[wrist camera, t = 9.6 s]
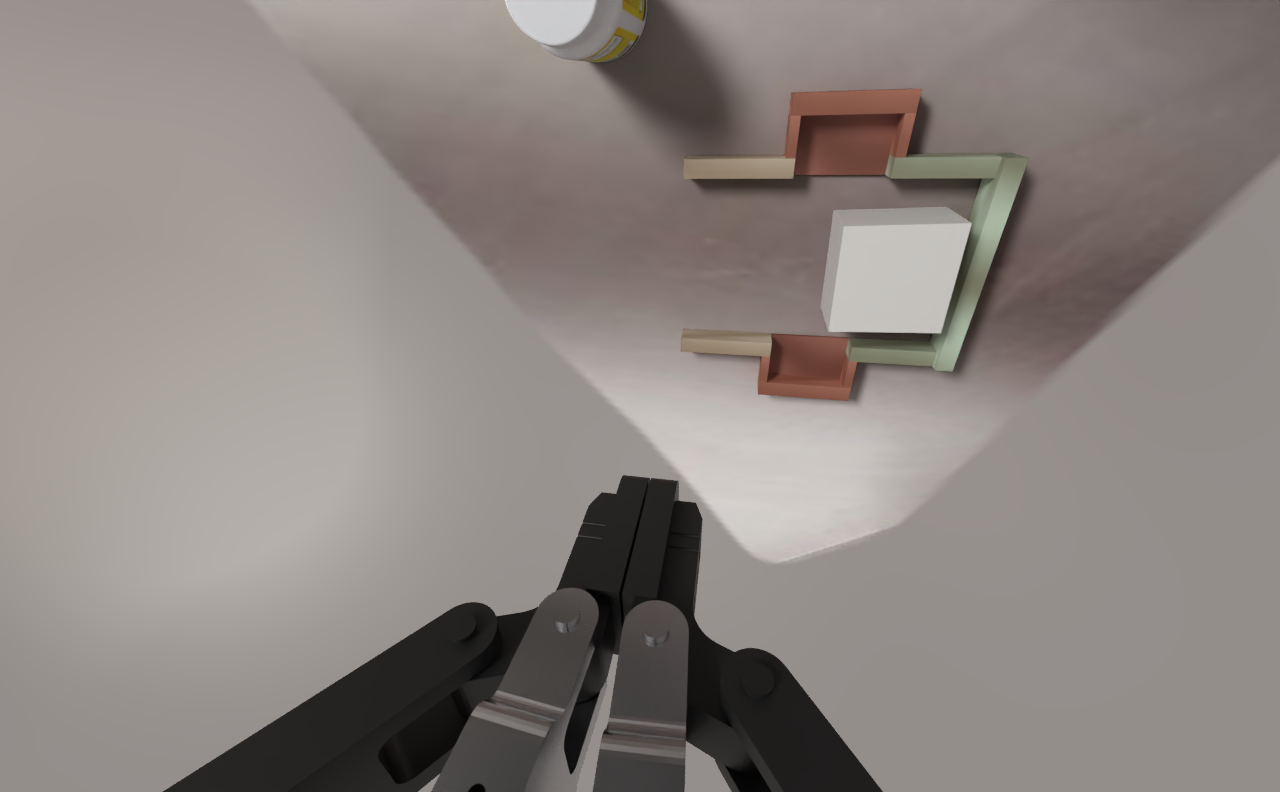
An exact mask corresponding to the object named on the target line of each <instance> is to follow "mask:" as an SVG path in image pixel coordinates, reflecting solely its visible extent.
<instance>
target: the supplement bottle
mask: <svg viewBox="0 0 1280 792" xmlns="http://www.w3.org/2000/svg"><path fill="white" fill-rule="evenodd" d="M505 3H506V6H507V8H508V10H509V13H510V14H511V16H512V18H513V20H514V21H515V23H516V24H517V25H518V27H519V28H520V29H521V30H522V31H523V32H524V33H525V34H526V35H527V36H528V37H530V38H531V39H533V40H534V41H536V42H537V43H538V44H539V45H540V46H541V47H542V48H544V49H545V50H546V51H548V52H549V53H551V54H553V55H555V56H557V57H560V58H563V59H567V60H577V61H587V62H599V63H607V62H613V61H616V60H618V59H620V58H622V57H624V56H625V55H626V54H628V53H629V52H630V51H631V50H632V49H633V48H634V46H635V45H636V43H637V42H638V40H639V38H640V36H641V34H642V32H643V29H644V25H645V21H646V15H647V0H505Z"/></svg>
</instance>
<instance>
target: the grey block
mask: <svg viewBox="0 0 1280 792" xmlns="http://www.w3.org/2000/svg"><path fill="white" fill-rule="evenodd" d="M971 225H972V223H971V222H969V221H968V220H966V219H965V218H963V217H962V216H960V215H958V214H957V213H955V212H954V211H952V210H951V209H949V208H947V207H925V208H893V209H861V210H834V211H833V219H832V226H831V234H830V241H829V249H828V256H827V264H826V271H825V279H824V286H823V293H822V301H821V309H822V313H823V316H824V319H825V322H826V325H827V329H828V332H887V333H941V331H942V328H943V324H944V321H945V317H946V314H947V310H948V306H949V303H950V299H951V296H952V292H953V289H954V285H955V282H956V278H957V274H958V271H959V267H960V264H961V260H962V257H963V253H964V250H965V246H966V242H967V239H968V235H969V232H970V228H971Z"/></svg>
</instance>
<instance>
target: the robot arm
mask: <svg viewBox="0 0 1280 792" xmlns="http://www.w3.org/2000/svg"><path fill="white" fill-rule="evenodd" d="M678 494H679V482H678V481H673V480H665V479H655V478H651V480H650V478H645V477H635V476H625V475H623V476H622V478H621V481H620V484H619V487H618V490H617V493H616V494H611V493H601V494H600V495H599V496H598V497H597V498H596V499H595V500H594V501H593V502H592V503H591V504H590V505H589V507H588V509H587V512H586V515H585V518H584V520H583V524H582V526H581V528H580V531H579V533H578V537H577V538H576V541H575V544H574V546H573V549H572V552H571V555H570V557H569V559H568V562H567V565H566V567H565V570H564V573H563V575H562V578H561V581H560V583H559V586H558V588H557V590H556V591H555V592H553V593H551V594H550V595H548V596H547V597H546V598H545V599H544V600H543V601H542V602H541V603H540V605H539V607H537V608H535V609H532V610H529V611H526V612H521V613H516V614H509V615H503V616H496V615H495V613H494V612H493V610H492V609H491V608H490V607H488V606H487V605H484V604H482V603H476V602H471V603H465V604H461V605H459V606H456V607H454V608H452V609H450V610H449V611H447V612H446V613H444V614H443V615H441V616H439V617H438V618H436V619H435V620H433V621H431V622H430V623H428V624H427V625H425V626H424V627H422V628H421V629H419V630H418V631H416V632H414V633H413V634H411V635H409V636H408V637H406V638H405V639H403V640H401V641H400V642H398V643H397V644H395V645H394V646H392V647H390V648H389V649H387V650H386V651H384V652H383V653H381V654H379V655H378V656H376V657H375V658H373V659H372V660H370V661H368V662H367V663H365V664H364V665H362V666H360V667H359V668H357V669H356V670H354V671H353V672H351V673H350V674H348V675H346V676H345V677H343V678H342V679H340V680H338V681H337V682H335V683H334V684H332V685H330V686H329V687H327V688H326V689H324V690H323V691H321V692H320V693H318V694H316V695H315V696H313V697H312V698H310V699H308V700H307V701H305V702H304V703H302V704H300V705H299V706H297V707H296V708H294V709H293V710H291V711H290V712H288V713H286V714H285V715H283V716H282V717H280V718H278V719H277V720H275V721H274V722H272V723H271V724H269V725H267V726H266V727H264V728H263V729H261V730H259V731H258V732H256V733H255V734H253V735H252V736H250V737H248V738H247V739H245V740H244V741H242V742H241V743H239V744H237V745H236V746H234V747H233V748H231V749H230V750H228V751H226V752H225V753H223V754H222V755H220V756H219V757H217V758H215V759H214V760H212V761H211V762H209V763H207V764H206V765H204V766H203V767H201V768H199V769H198V770H196V771H195V772H193V773H192V774H190V775H189V776H187V777H185V778H184V779H182V780H181V781H179V782H177V783H176V784H174V785H173V786H171V787H170V788H168V789H166V790H165V791H163V792H418V791H419V790H420V789H421V788H423V787H424V786H425V785H426V784H428V783H429V782H430V781H431V780H432V779H434V778H435V777H436V776H437V775H439V774H440V775H439V777H438V779H437V781H436V783H435V785H434V787H433V789H432V791H431V792H576V789H577V783H578V779H579V775H580V771H581V768H582V765H583V762H584V759H585V755H586V752H587V749H588V745H589V743H590V739H591V736H592V733H593V730H594V727H595V723H596V720H597V717H598V714H599V710H600V707H601V704H602V701H603V698H604V694H605V691H606V687H607V676H608V672H609V667H610V664H611V660H612V655H613V654H617V655H618V662H617V668H616V675H615V682H614V688H613V695H612V701H611V708H610V715H609V721H608V725H607V728H606V729H605V730H604V732H603V735H602V739H601V744H600V749H599V755H598V761H597V767H596V773H595V780H594V786H593V792H684V787H685V786H684V785H685V752H686V741H687V742H689V743H691V744H692V745H694V746H695V747H697V748H699V749H700V750H702V751H703V752H705V753H706V754H708V755H710V756H711V757H713V758H714V759H715V761H716V763H717V765H718V768H719V770H720V771H721V773H722V775H723V777H724V778H725V780H726V782H727V784H728V786H729V788H730V789H731V791H732V792H882V790H881V789H880V788H879V787H878V785H877V784H876V782H875V781H874V780H873V778H872V777H871V776H870V775H869V773H868V772H867V771H866V770H865V768H864V767H863V766H862V764H861V763H860V762H859V760H858V759H857V758H856V757H855V755H854V754H853V753H852V751H851V750H850V749H849V748H848V746H847V745H846V744H845V742H844V741H843V740H842V739H841V737H840V736H839V735H838V733H837V732H836V731H835V729H834V728H833V727H832V726H831V724H830V723H829V722H828V720H827V719H826V718H825V717H824V715H823V714H822V713H821V712H820V710H819V709H818V708H817V706H816V705H815V704H814V702H813V701H812V700H811V699H810V697H809V696H808V695H807V694H806V692H805V691H804V690H803V688H802V687H801V686H800V684H799V683H798V682H797V680H796V679H795V678H794V677H793V675H792V674H791V673H790V671H789V670H788V669H787V668H786V666H785V665H784V664H783V663H782V662H781V661H780V660H779V659H778V658H777V657H775V656H774V655H772V654H770V653H768V652H766V651H764V650H760V649H755V648H747V649H741V650H739V651H736V652H733V651H731V650H729V649H727V648H725V647H723V646H721V645H719V644H717V643H716V642H714V641H712V640H711V639H710V638H708V637H707V636H706V635H705V634H704V633H703V632H702V631H701V629H700V628H699V626H698V624H697V622H696V620H695V617H694V612H695V602H696V592H697V583H698V573H699V562H700V551H701V550H700V549H701V533H702V517H701V514H700V512H699V509H698V507H697V505H696V503H692V502H683V501H678V497H679V495H678Z"/></svg>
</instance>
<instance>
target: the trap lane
mask: <svg viewBox="0 0 1280 792" xmlns="http://www.w3.org/2000/svg"><path fill="white" fill-rule="evenodd" d="M921 91H922V89H892V90H859V91H827V92H794V93H791V101H790V110H789V118H788V127H787V136H786V144H785V153H784V155H751V156H686V158H685V159H684V179H793V175H886V176H888V177H889V178H891V179H923V178H982V180H981V183H980V186H979V189H978V193H977V196H976V199H975V202H974V205H973V208H972V211H971V214H970V218H969V222H971V223H972V225H971V228H970V232H969V235H968V239H967V242H966V246H965V250H964V253H963V257H962V260H961V264H960V267H959V271H958V274H957V278H956V282H955V285H954V289H953V292H952V296H951V299H950V303H949V306H948V310H947V314H946V317H945V321H944V324H943V328H942V331H941V333H932V337H931V340H930V342H924V341H904V340H885V339H866V338H846V337H827V336H808V335H788V334H769V333H749V332H730V331H711V330H691V329H683V332H682V336H681V352H698V353H715V354H731V355H748V356H761V359H760V368H759V376H758V394H762V395H776V396H789V397H803V398H817V399H831V400H844V401H848V399H849V395H850V390H851V386H852V382H853V378H854V374H855V369H856V365H857V362H866V363H882V364H899V365H916V366H933V368H934V370H938V371H953V369H954V366H955V363H956V360H957V357H958V355H959V352H960V349H961V346H962V344H963V341H964V338H965V335H966V332H967V330H968V327H969V324H970V321H971V318H972V316H973V313H974V310H975V307H976V305H977V302H978V299H979V296H980V293H981V291H982V288H983V285H984V282H985V280H986V277H987V274H988V271H989V268H990V266H991V263H992V260H993V257H994V255H995V252H996V249H997V246H998V243H999V241H1000V238H1001V235H1002V232H1003V230H1004V227H1005V224H1006V221H1007V218H1008V216H1009V213H1010V210H1011V207H1012V205H1013V202H1014V199H1015V196H1016V193H1017V191H1018V188H1019V185H1020V182H1021V179H1022V177H1023V174H1024V171H1025V168H1026V166H1027V163H1028V160H1029V158H1028V157H1024V156H1020V155H1017V154H1013V153H961V154H907V150H908V146H909V142H910V137H911V133H912V129H913V125H914V121H915V116H916V112H917V108H918V104H919V99H920V95H921Z"/></svg>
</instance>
